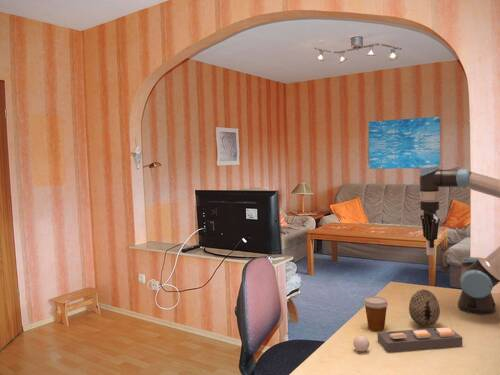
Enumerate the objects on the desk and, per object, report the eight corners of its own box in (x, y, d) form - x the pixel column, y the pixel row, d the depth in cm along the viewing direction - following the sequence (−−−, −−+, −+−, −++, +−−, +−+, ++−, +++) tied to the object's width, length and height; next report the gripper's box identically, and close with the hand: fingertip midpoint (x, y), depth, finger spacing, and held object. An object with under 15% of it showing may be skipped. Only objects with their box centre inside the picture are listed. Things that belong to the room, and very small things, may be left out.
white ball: (366, 355, 157) (366, 340, 157) (351, 352, 160) (351, 337, 160) (373, 347, 164) (372, 332, 163) (358, 344, 167) (357, 329, 166)
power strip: (448, 335, 171) (447, 326, 170) (462, 346, 161) (462, 336, 160) (377, 341, 168) (377, 332, 168) (387, 352, 159) (387, 342, 158)
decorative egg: (407, 320, 188) (406, 285, 187) (436, 320, 186) (435, 285, 185) (412, 330, 177) (411, 294, 176) (443, 331, 174) (442, 294, 173)
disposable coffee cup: (389, 333, 175) (389, 304, 174) (365, 332, 177) (364, 303, 176) (387, 324, 184) (386, 296, 184) (363, 323, 186) (363, 295, 186)
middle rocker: (425, 332, 164) (425, 329, 164) (430, 337, 160) (430, 334, 160) (412, 333, 164) (412, 330, 164) (417, 338, 160) (417, 335, 160)
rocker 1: (402, 335, 163) (402, 332, 164) (406, 337, 160) (406, 334, 160) (389, 336, 163) (388, 333, 163) (393, 338, 159) (393, 335, 159)
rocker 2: (448, 329, 165) (448, 327, 165) (454, 336, 161) (454, 333, 161) (435, 330, 165) (436, 328, 164) (441, 337, 161) (441, 334, 160)
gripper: (414, 199, 197) (415, 252, 198) (428, 202, 184) (429, 258, 185) (430, 199, 197) (431, 251, 199) (445, 201, 184) (446, 257, 186)
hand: (430, 254), depth 192 cm, fingers closed
